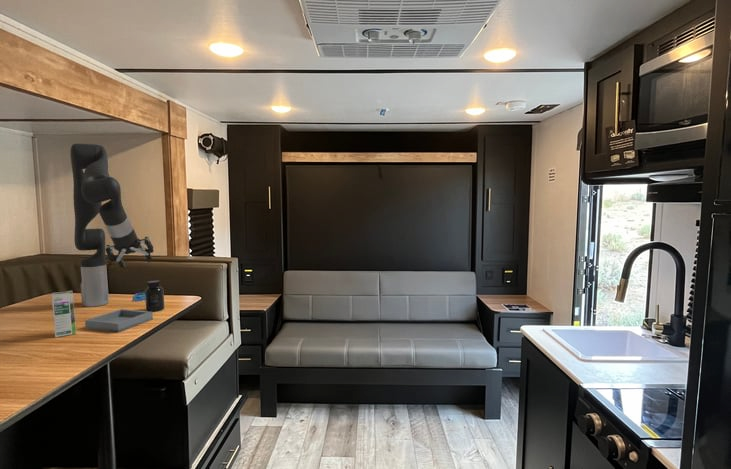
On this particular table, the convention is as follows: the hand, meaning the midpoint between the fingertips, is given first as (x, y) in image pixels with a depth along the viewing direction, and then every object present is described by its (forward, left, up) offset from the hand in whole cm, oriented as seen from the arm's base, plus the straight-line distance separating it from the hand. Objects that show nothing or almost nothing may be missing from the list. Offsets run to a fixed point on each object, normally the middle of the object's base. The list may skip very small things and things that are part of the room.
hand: (136, 263), depth 147 cm
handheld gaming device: (-29, +30, -23) cm, 47 cm away
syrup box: (-14, -18, -22) cm, 32 cm away
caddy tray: (-5, -5, -22) cm, 23 cm away
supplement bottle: (-7, +14, -22) cm, 27 cm away
